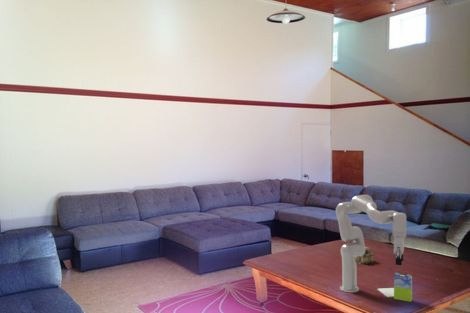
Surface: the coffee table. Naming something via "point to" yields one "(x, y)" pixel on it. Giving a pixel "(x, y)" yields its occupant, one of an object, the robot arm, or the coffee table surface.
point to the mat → (387, 291)
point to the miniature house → (365, 257)
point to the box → (402, 287)
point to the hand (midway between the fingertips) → (399, 262)
